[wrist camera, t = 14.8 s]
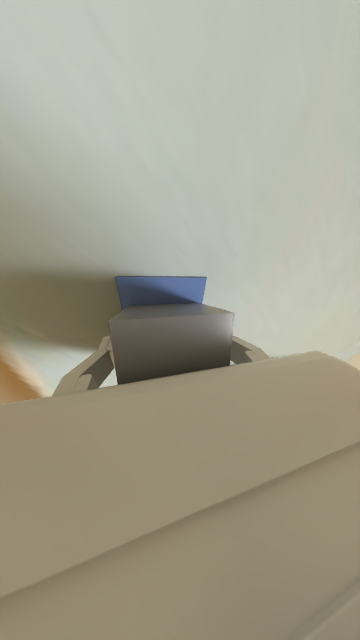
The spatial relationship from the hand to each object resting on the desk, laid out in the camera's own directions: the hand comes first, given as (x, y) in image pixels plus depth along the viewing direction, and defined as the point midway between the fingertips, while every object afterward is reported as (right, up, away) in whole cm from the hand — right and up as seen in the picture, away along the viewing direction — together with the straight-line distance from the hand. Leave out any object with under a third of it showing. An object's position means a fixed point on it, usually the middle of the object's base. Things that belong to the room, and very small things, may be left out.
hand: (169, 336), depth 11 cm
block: (-1, 0, +3) cm, 3 cm away
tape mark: (-1, +2, +2) cm, 3 cm away
